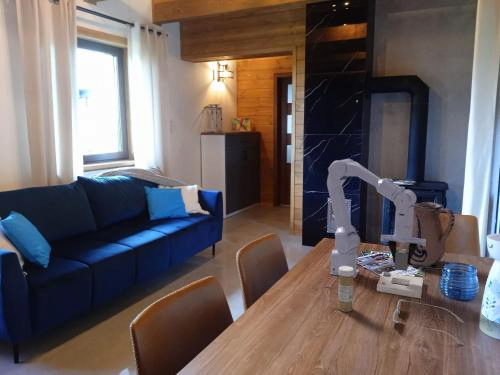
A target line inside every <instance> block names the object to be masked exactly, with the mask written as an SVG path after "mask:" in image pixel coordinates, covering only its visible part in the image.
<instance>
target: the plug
mask: <svg viewBox="0 0 500 375" xmlns="http://www.w3.org/2000/svg"><path fill="white" fill-rule="evenodd" d="M408 255H409V251H406V250H404V249H400V248H399V249H396V253H395V263H394V270H395V271H396V270H397V271H403V272H407V271H408V268H409V265H408Z"/></svg>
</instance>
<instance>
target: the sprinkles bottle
mask: <svg viewBox="0 0 500 375" xmlns="http://www.w3.org/2000/svg"><path fill="white" fill-rule="evenodd" d="M353 276H354V269H353V268H352V267H350V266H341V267H339V275H338V293H337V294H338V297H337V300H338V302H337V304H338V305H337V308H338V310H339V311H342V312H345V313H346V312H347V313H348V312H351V311H352V310H353V300H354V299H353V298H354V278H353Z"/></svg>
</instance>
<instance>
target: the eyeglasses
mask: <svg viewBox="0 0 500 375" xmlns="http://www.w3.org/2000/svg"><path fill="white" fill-rule="evenodd" d="M401 302H404V303H405V302H408V303H409V302H410V303H411V301H408V300H406V299H399V300H398V301H397V305H396V309H395V311H394V312H393V315H392V328H395V324H398V323H399V324H403V325H404V324H405V325H408V326H412V327H415V325H413V324H409V323H404V322H400V321H398V320H397V318H398V317H399V314H400V313H401V312H400V311H401V304H402V303H401ZM412 304H417V302H414V301H412ZM418 304H420V305H421V304H422V302H421V303H420V302H418ZM424 305H426V306H427V305H428V304H427V303H426V304H425V303H424ZM429 306H431V307H433V305H431V304H429ZM434 307H435V308H438V309H439V308H440V309H442V310H444V311H447V312H449V313H451V315H453V316H454V317H455V318H456V319H457V322H460V323H463V324H464V323H465V321H463V319H461V318H460V317H459V316H458V315H456V314H455V313H454V312H452V311H450V310H449V309H446V308H445V307H441V306H436V305H434ZM416 327H418V328H420V326H417V325H416ZM421 328H422V329H427V330H432V331H436V332H437V331H438V332H442V333H444V334H446V335H448V336H449V337H450V338H452V339H453V340H455V342H456V344H458V345H460V346H464V345H465V344H464V343H463V342H462V341H461V340H460V339H458V338H457V337H455V336H454V335H452V334H450V333H448V332H446V331H444V330H440V329H436V328H435V329H434V328H427V327H423V326H421Z"/></svg>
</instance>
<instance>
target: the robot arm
mask: <svg viewBox="0 0 500 375" xmlns="http://www.w3.org/2000/svg"><path fill="white" fill-rule="evenodd" d="M327 170H328V175H327V180H326V185H327V186H326V187H327V190H328V195H329V199H330V203H331V207H332V211H333V217H334V219H335V225H336V230H335V232H334V238H335V240H334V246H335V249H334V248H333V249H332V250H331V256H330V273H329V274H330V275H334V276H339V267H341V266H350V267H352V268H353V269H354V276H353V279H355V278H356V277H357V275H358V273H359V269H357V262H358V261H357V260H358V250H357V249H358V247H359V246H360V243H361V238H360V236H359V234H358V233H357V230H356V228H355V226H353V225H352V222H351V218H350V213H349V209H348V206H347V205H348V204H347V201H346V197H345V193H344V188H343V184H344V183H345V182H346V180H347V179H348V178H349V177H358V178H359V179H361V180H362V181H365V182H366V183H367V184H370V185H371V186H374V187H375V189H376V192H377V193H378V194H380V195H382V196H384V198H386V199H388V200H390V201H391V202H393V204H394V206H395V217H394V218H395V219H394V234H381V235H380V242H387V243H388V244H387V246H388V248H389V250H390V253H391V255H392V256H391V257H392V263H393V264H395V253H396V250H397V244H399V243H406V244H409V255H408V266H410V265H411V263H410V260H411V258H412V255H413V253H414V252H415V250H416V248H417V245H422V246H426V239H420V238H415V237H412V229H413V209H414V206H412V205H414V204H415V202H417V195H416V193H415V192H414V191H413V190H411V189H405V188H406V187H405V186H400V185H398V184H397V183H395V182H393V181H394V179H392V178H387V177H386V178H380V177H379V176H377V175H376V174H374V173H373V172H371V171H370V170H369V169H367V168H366V167H365V166H363V165H361V164H360V163H359V162H358V161H354V160H353V159H351V158H345V159H340V160H334V161H333V162H332V163H330V165H329V167H327ZM410 206H411V207H410Z"/></svg>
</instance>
